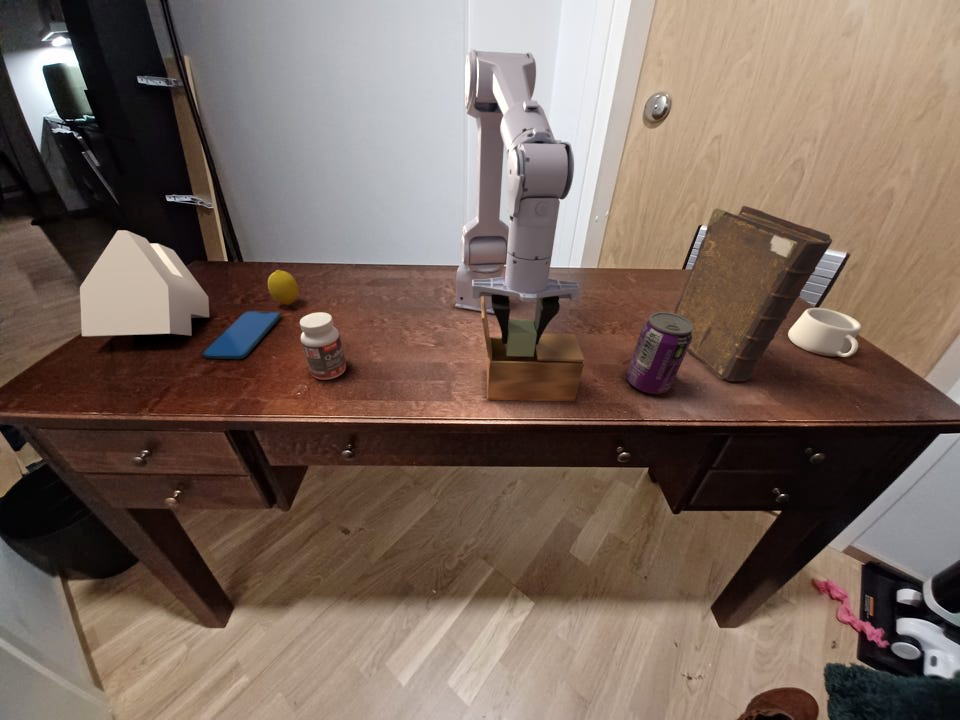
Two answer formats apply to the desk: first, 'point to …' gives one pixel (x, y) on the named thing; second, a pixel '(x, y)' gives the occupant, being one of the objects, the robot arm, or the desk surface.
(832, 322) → the mug
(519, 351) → the block
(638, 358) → the beverage can
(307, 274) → the desk surface
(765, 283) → the book
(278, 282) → the lemon
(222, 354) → the smartphone
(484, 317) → the flap
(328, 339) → the pill bottle
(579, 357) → the carton
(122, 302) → the white house-shaped piece
